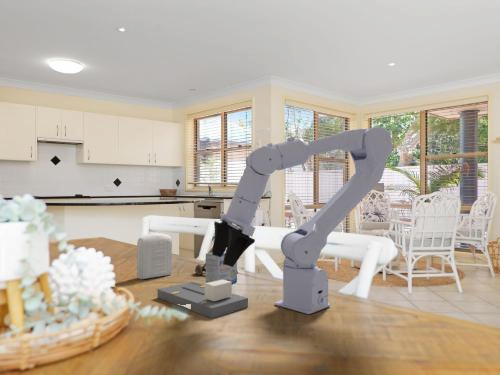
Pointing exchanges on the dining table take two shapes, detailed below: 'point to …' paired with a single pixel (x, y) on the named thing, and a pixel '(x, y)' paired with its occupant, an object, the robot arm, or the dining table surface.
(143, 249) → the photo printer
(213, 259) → the medicine box
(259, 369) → the dining table surface
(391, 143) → the robot arm
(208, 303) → the board
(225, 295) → the fader
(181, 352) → the dining table surface
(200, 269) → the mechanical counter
